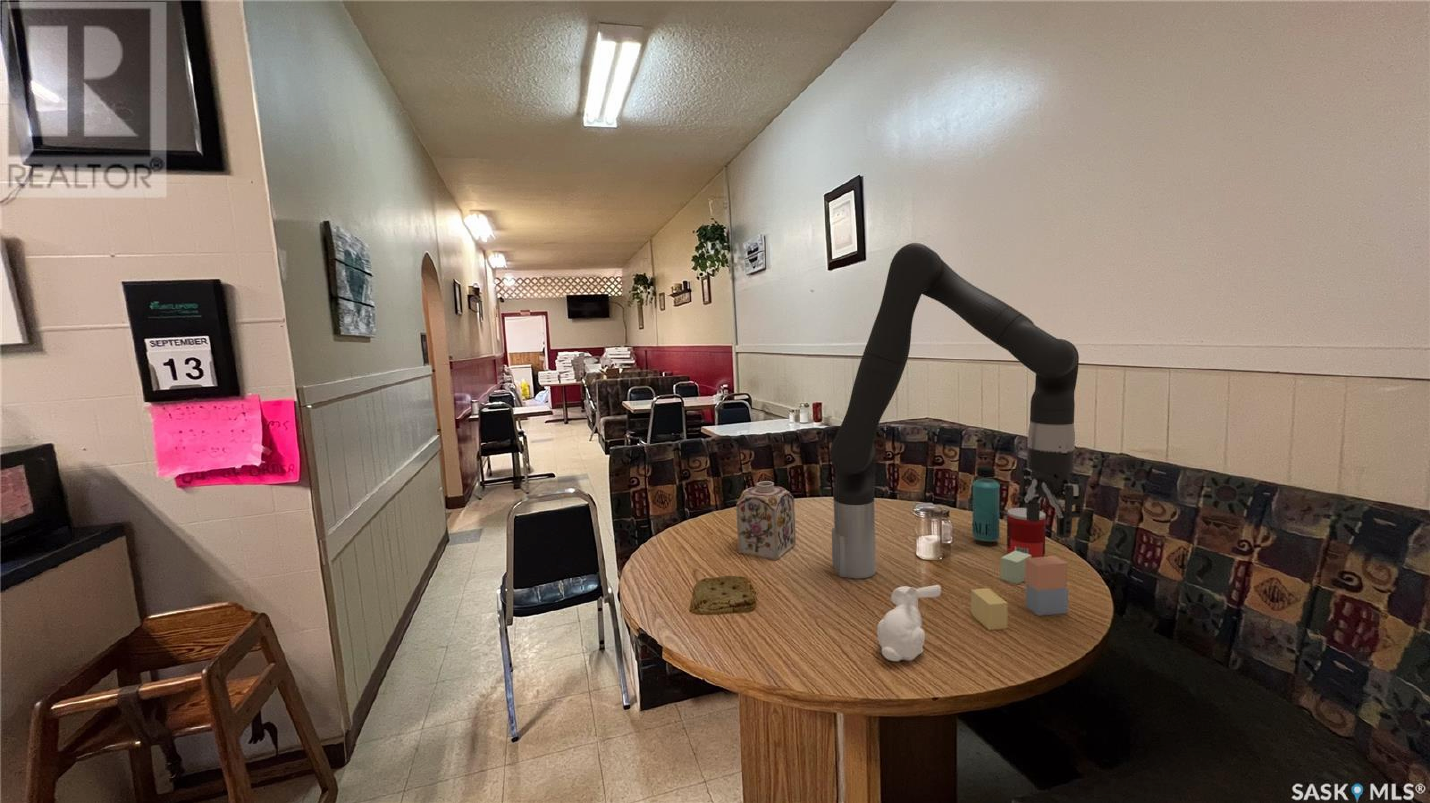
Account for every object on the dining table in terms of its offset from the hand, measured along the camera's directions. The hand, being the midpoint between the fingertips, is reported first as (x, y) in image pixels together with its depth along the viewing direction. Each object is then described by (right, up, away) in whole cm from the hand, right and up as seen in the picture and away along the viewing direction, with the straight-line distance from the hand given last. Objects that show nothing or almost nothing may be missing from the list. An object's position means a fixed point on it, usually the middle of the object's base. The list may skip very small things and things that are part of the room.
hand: (1047, 528), depth 103 cm
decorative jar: (-50, -15, +39) cm, 65 cm away
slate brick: (+1, -16, +2) cm, 16 cm away
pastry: (-62, -19, +14) cm, 66 cm away
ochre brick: (-12, -17, -1) cm, 21 cm away
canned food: (+11, -13, +27) cm, 32 cm away
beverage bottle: (+6, -12, +36) cm, 39 cm away
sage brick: (+3, -15, +16) cm, 22 cm away
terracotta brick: (0, -11, +1) cm, 11 cm away
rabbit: (-30, -19, -8) cm, 37 cm away
